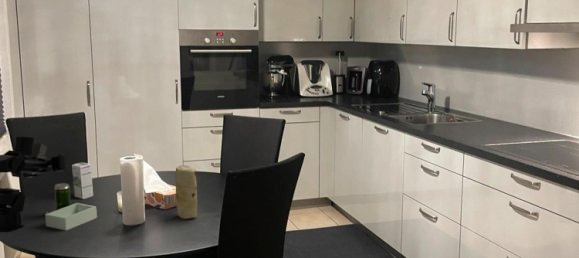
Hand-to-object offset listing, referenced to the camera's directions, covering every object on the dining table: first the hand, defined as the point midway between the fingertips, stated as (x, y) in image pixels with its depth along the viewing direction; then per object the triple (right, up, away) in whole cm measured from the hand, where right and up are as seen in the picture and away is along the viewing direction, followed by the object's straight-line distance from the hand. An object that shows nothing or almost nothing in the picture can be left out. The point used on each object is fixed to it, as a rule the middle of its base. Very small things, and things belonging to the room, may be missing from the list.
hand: (59, 167), depth 221 cm
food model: (+52, -19, -7) cm, 56 cm away
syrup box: (+3, -14, +17) cm, 23 cm away
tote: (+10, -19, -14) cm, 26 cm away
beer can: (+4, -18, -6) cm, 20 cm away
